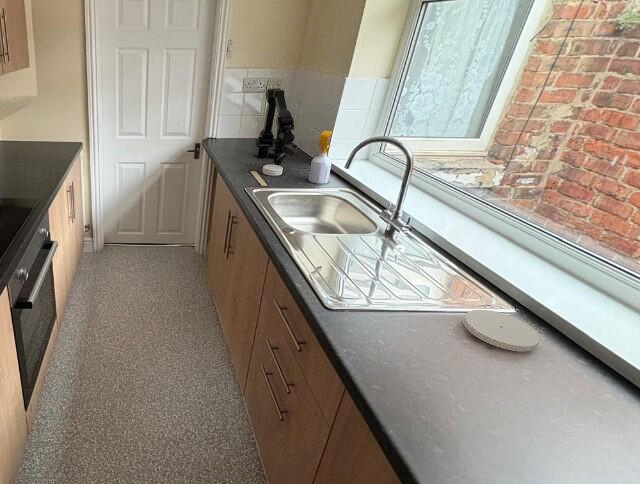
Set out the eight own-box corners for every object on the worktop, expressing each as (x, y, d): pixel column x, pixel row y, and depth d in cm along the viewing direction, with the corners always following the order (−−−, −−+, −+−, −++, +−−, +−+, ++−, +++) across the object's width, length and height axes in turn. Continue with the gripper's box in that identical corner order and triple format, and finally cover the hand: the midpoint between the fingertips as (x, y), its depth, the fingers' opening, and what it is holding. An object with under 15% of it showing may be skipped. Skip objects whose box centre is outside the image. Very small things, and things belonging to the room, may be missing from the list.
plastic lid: (552, 352, 95) (557, 343, 94) (496, 357, 94) (500, 348, 93) (497, 315, 108) (501, 307, 106) (447, 319, 106) (451, 311, 105)
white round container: (284, 176, 215) (285, 169, 213) (264, 176, 215) (265, 169, 213) (278, 170, 224) (279, 164, 222) (260, 170, 224) (261, 164, 222)
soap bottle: (330, 180, 207) (340, 131, 196) (323, 185, 201) (333, 134, 190) (312, 177, 212) (321, 128, 201) (305, 181, 206) (314, 131, 195)
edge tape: (250, 171, 223) (250, 171, 223) (255, 171, 223) (255, 171, 223) (261, 185, 202) (261, 185, 202) (267, 185, 202) (267, 185, 201)
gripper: (289, 145, 205) (284, 175, 212) (304, 138, 217) (299, 167, 224) (268, 142, 212) (264, 171, 219) (283, 135, 224) (279, 163, 231)
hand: (277, 168), depth 223 cm, fingers closed
